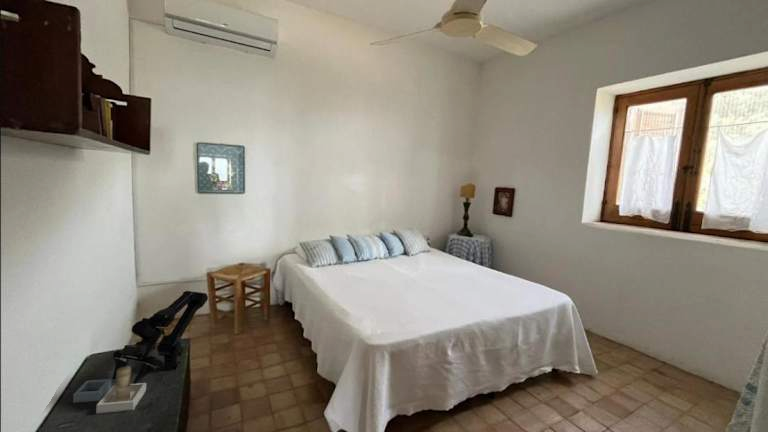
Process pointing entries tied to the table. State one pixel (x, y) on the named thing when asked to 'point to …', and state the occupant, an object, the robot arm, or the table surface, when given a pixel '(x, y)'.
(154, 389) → the table surface
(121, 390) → the birch dowel
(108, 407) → the tray
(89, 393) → the socket block
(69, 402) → the table surface
